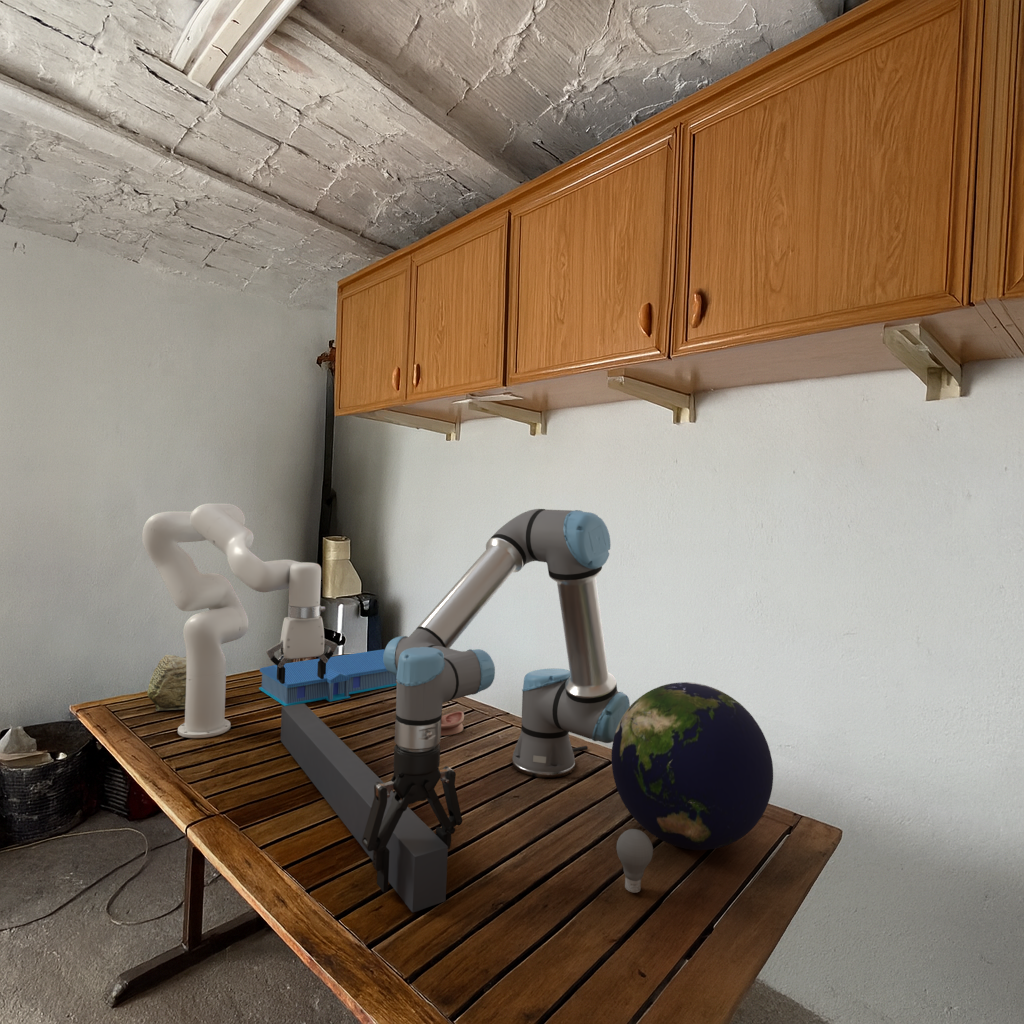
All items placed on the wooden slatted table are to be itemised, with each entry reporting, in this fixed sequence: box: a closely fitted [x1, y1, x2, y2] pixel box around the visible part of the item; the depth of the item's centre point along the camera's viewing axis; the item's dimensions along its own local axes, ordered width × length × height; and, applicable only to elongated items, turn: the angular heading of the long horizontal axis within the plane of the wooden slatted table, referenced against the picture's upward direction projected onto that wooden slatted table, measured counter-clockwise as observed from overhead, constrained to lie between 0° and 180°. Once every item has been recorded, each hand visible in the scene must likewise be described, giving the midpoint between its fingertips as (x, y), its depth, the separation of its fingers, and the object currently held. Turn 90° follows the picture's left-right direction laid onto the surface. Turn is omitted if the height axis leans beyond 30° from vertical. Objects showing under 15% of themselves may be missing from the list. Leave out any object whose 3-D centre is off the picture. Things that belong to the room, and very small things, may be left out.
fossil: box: [147, 654, 187, 712], centre depth 185 cm, size 9×18×15 cm, turn 132°
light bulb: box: [615, 828, 654, 894], centre depth 106 cm, size 6×6×10 cm
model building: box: [258, 648, 397, 707], centre depth 208 cm, size 39×24×10 cm, turn 132°
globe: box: [610, 681, 774, 851], centre depth 122 cm, size 30×30×30 cm
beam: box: [280, 703, 449, 914], centre depth 132 cm, size 79×6×9 cm, turn 34°
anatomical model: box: [441, 710, 465, 737], centre depth 175 cm, size 13×4×12 cm
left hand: (301, 679), depth 159 cm, fingers open, 9 cm apart
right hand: (411, 877), depth 105 cm, fingers open, 10 cm apart
